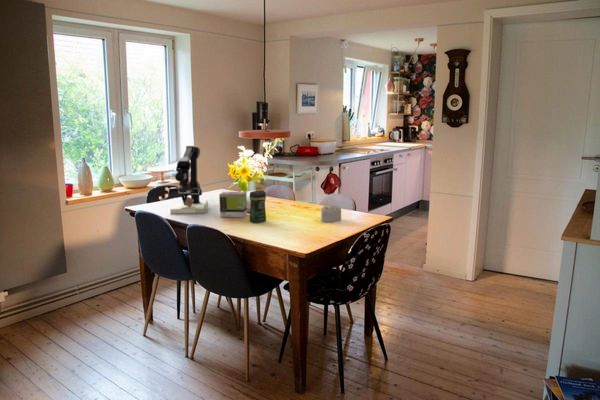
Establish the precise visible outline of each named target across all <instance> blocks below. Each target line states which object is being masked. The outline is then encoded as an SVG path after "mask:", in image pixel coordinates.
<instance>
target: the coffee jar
mask: <svg viewBox="0 0 600 400" xmlns="http://www.w3.org/2000/svg"><path fill="white" fill-rule="evenodd" d="M248 198H249V200H250V201H249V202H250V203H249V204H250V207H249V208H250V209H249V222H251V223H256V224H258V223H264V222H266V221H267V214H266V198H267V196H266V190H265V191H264V190H261V189H260V190H254V191H250V192H249V197H248Z"/></svg>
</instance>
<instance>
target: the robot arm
mask: <svg viewBox="0 0 600 400" xmlns="http://www.w3.org/2000/svg"><path fill="white" fill-rule="evenodd" d="M200 155H201V149H200V148H199V146H195V145H186V147H185V151H184V152H183V155H182V157H181V158H179V160H178V162H177V164H176V170H175V171H176V173H175V175H174V178H175V181H177V182H179V185H178V187H170V188H168V193H171V194H173V193H176V192H178V193H177V194H178V195H180V198H181V200H182V202H183V203H182V204H184V203H185V201H186V199H187V197H189V196H190V198H192V199H194V201H193V203H192V204H202V203H201V201H200V196H203V191H202V187H201V184H200V182H199V181H198V160H199V157H200Z"/></svg>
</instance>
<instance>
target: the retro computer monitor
mask: <svg viewBox="0 0 600 400" xmlns="http://www.w3.org/2000/svg"><path fill="white" fill-rule="evenodd" d="M218 198H219V214H220V215H219V216H220V218H245V217H246V216H247V214H248V210H247V206H248V204H247V203H248V202H247V191H222V192H221V193H219V197H218Z"/></svg>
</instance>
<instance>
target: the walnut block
mask: <svg viewBox="0 0 600 400" xmlns="http://www.w3.org/2000/svg"><path fill="white" fill-rule="evenodd" d="M193 201H194V199H192V198H191V196H190V197H189V196H187V199H186V201H185V203H183V204H184V205H186V206H188V207H191V205H192V203H193Z"/></svg>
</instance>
